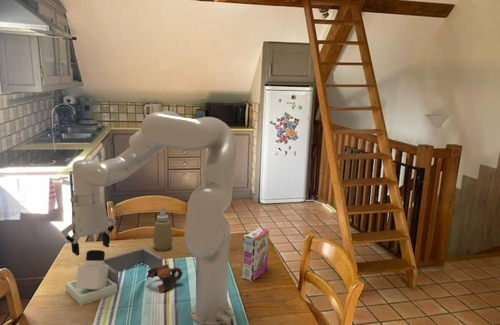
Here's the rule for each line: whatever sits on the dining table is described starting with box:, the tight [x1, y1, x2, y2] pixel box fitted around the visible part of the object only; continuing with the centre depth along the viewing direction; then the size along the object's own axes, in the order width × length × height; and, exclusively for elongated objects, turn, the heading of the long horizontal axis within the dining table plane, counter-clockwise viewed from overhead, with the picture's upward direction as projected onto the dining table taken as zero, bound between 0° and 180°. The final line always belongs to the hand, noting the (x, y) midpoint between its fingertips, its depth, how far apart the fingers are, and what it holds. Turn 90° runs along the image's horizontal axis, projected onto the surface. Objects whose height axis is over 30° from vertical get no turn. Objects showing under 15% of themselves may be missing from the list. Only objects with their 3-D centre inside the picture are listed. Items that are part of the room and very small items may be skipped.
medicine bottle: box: [76, 249, 109, 289], centre depth 130 cm, size 7×7×12 cm
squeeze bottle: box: [152, 206, 174, 252], centre depth 166 cm, size 8×8×18 cm
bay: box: [103, 247, 164, 290], centre depth 143 cm, size 13×18×6 cm
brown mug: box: [146, 264, 184, 293], centre depth 136 cm, size 12×9×8 cm
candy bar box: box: [241, 227, 270, 282], centre depth 145 cm, size 11×5×16 cm, turn 149°
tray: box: [65, 277, 118, 306], centre depth 130 cm, size 12×12×3 cm
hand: (91, 250), depth 128 cm, fingers open, 9 cm apart
